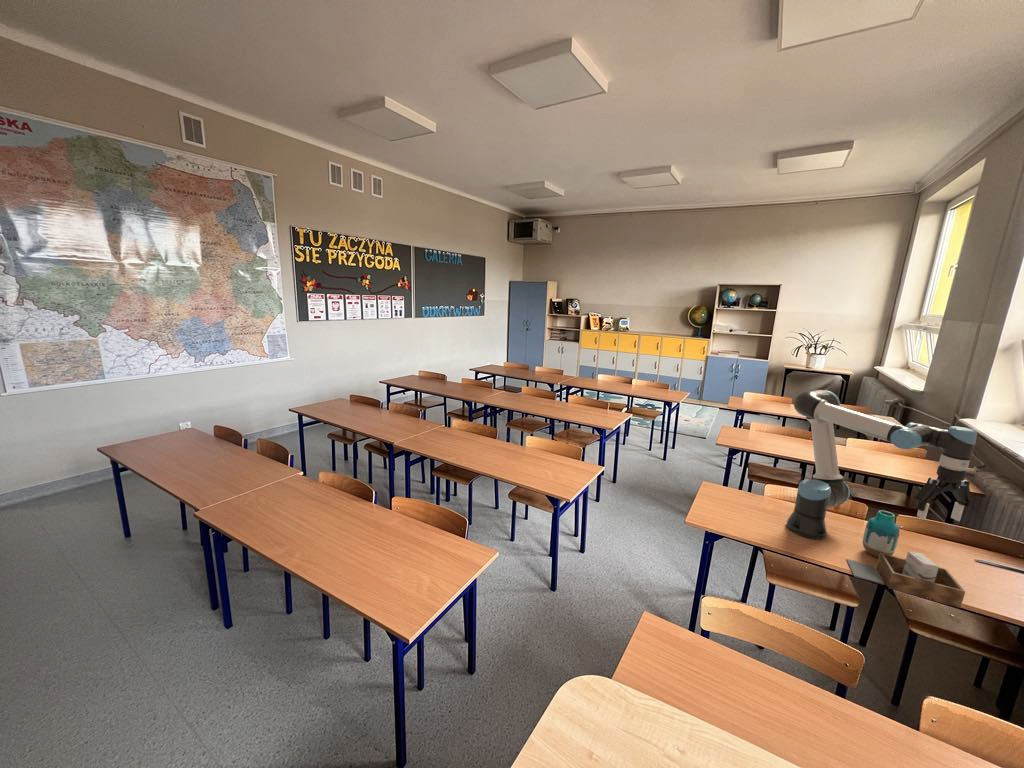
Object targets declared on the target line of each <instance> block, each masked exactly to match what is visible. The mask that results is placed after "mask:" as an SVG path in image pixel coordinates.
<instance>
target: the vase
mask: <svg viewBox="0 0 1024 768" xmlns="http://www.w3.org/2000/svg"><path fill="white" fill-rule="evenodd" d="M895 519H896V515H895V514H894V513H892V512H890V511H886V510H883V509H881V510H878V511H877V513H876V516H875V517H871V518H869V519H868V521H867V522H866V525H865V528H864V532H863V536H862V546H863V549H865V551H866V552H867V553H868V554H870V555H872V556H874V557H877V558H879V555H880V553H884V554H888V555H892V556H894V554H895V551H896V549H897V547H898V546H897V545H898V542H899V537H900V527H899V525H898V524H897V523H895Z"/></svg>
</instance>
